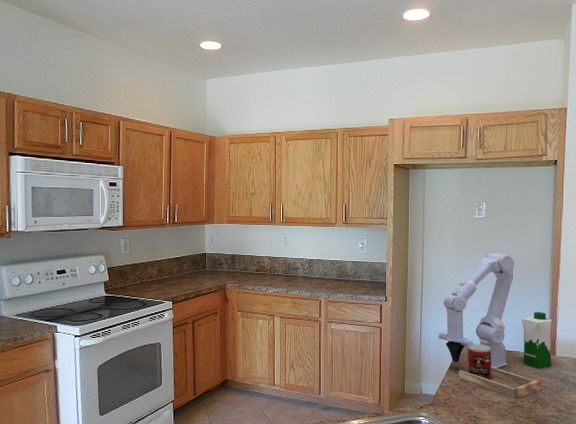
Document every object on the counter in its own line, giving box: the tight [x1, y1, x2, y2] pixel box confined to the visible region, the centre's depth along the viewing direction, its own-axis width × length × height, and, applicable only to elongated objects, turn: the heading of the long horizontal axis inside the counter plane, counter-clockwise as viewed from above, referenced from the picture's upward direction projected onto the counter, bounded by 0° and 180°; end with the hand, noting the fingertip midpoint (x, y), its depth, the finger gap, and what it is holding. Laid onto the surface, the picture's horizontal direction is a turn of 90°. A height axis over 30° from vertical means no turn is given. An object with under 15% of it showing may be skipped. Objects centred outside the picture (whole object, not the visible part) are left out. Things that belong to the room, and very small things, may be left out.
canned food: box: [467, 343, 492, 380], centre depth 166 cm, size 8×8×11 cm
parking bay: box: [458, 367, 542, 399], centre depth 160 cm, size 13×23×3 cm, turn 32°
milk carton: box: [521, 311, 553, 370], centre depth 178 cm, size 9×9×20 cm
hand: (455, 361), depth 175 cm, fingers closed
